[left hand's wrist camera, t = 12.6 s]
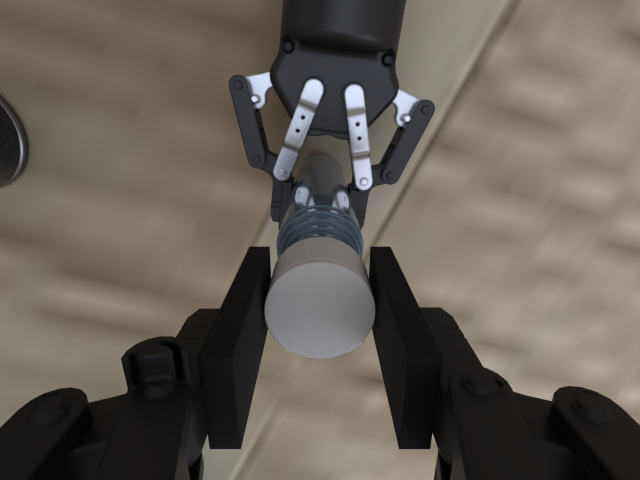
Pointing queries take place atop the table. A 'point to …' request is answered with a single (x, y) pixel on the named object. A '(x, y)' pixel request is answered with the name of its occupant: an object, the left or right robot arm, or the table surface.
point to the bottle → (320, 206)
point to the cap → (319, 299)
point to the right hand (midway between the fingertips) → (316, 229)
